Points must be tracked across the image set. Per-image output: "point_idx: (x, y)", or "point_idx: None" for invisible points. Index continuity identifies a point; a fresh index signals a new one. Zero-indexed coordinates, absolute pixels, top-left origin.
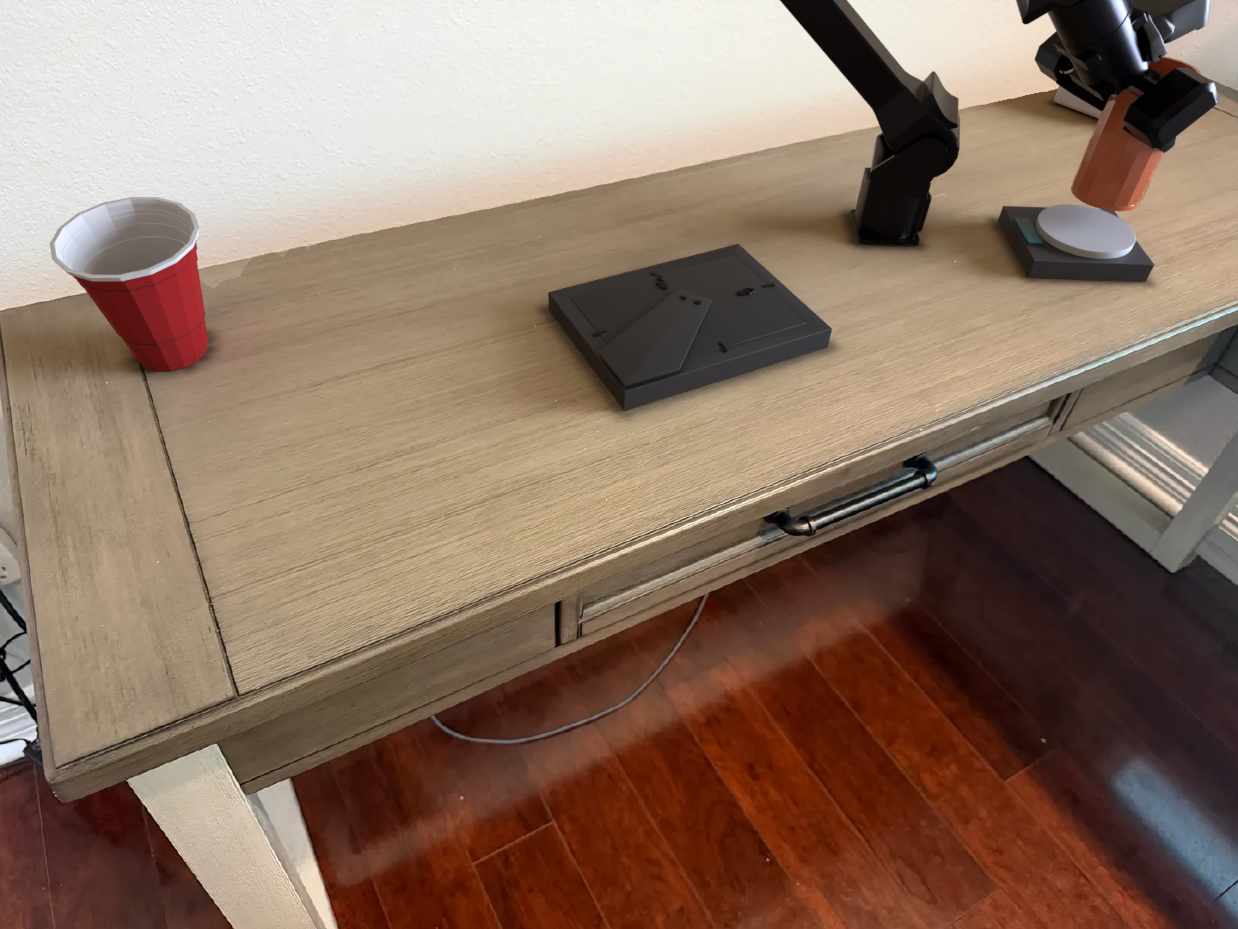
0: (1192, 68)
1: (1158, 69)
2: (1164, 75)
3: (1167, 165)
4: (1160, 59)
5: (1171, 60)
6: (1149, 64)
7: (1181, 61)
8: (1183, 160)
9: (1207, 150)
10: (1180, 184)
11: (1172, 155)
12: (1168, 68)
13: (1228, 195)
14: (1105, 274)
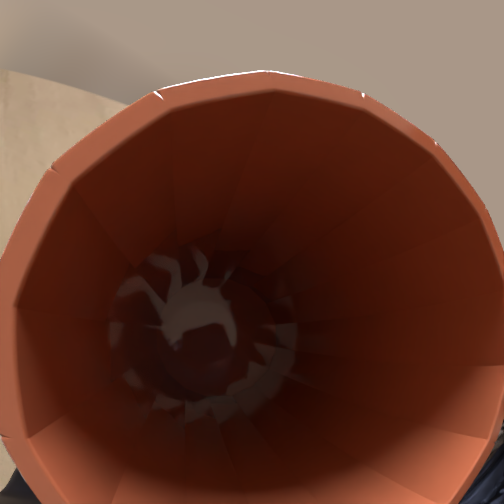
0: (313, 100)
1: (87, 253)
2: (127, 219)
3: (27, 136)
4: (52, 250)
5: (106, 164)
6: (50, 325)
7: (162, 102)
8: (25, 117)
9: (19, 90)
10: (68, 136)
11: (13, 124)
12: (122, 193)
13: (104, 97)
14: None
